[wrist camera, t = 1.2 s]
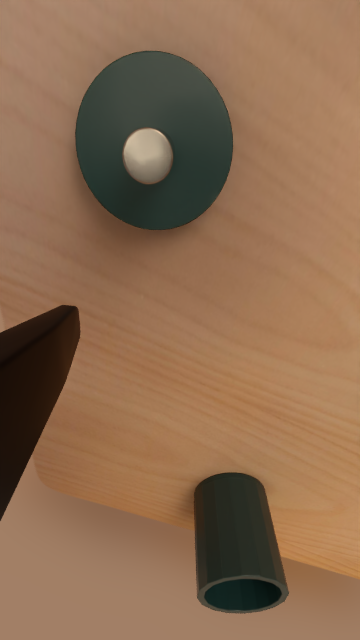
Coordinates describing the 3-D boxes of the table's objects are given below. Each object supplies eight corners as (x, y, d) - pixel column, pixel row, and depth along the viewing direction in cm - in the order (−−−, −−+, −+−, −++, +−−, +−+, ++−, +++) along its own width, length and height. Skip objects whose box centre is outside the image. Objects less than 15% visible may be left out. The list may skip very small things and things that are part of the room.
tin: (179, 491, 35) (179, 593, 27) (237, 463, 32) (255, 567, 25) (222, 520, 38) (232, 620, 30) (278, 496, 35) (305, 598, 28)
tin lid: (50, 141, 18) (6, 145, 13) (160, 8, 15) (151, -44, 11) (152, 251, 21) (145, 284, 17) (259, 159, 18) (284, 168, 14)
